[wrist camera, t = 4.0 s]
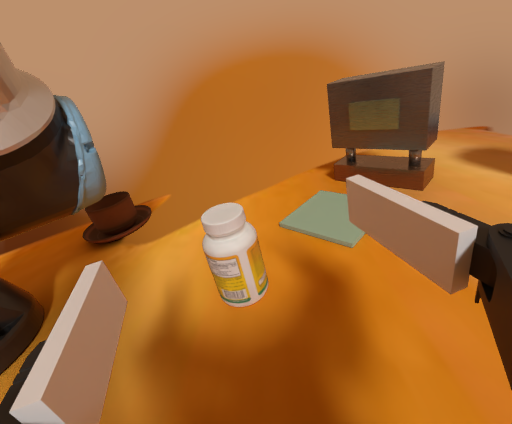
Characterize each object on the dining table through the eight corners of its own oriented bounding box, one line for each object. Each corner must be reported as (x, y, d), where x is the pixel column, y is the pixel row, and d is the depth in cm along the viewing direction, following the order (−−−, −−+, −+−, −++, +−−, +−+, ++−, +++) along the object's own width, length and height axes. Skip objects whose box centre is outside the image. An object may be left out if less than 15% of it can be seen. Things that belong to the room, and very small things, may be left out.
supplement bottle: (232, 318, 26) (202, 236, 21) (214, 287, 30) (186, 214, 26) (279, 291, 28) (260, 210, 23) (255, 265, 32) (235, 194, 28)
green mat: (279, 226, 38) (279, 222, 38) (321, 193, 45) (320, 190, 44) (352, 247, 31) (352, 243, 31) (389, 204, 37) (389, 201, 37)
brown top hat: (84, 235, 51) (67, 207, 49) (144, 208, 57) (132, 181, 54) (93, 259, 42) (73, 226, 40) (163, 224, 48) (150, 193, 45)
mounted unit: (334, 180, 48) (325, 84, 41) (348, 169, 51) (342, 78, 44) (422, 191, 38) (431, 68, 31) (433, 176, 41) (444, 61, 34)
